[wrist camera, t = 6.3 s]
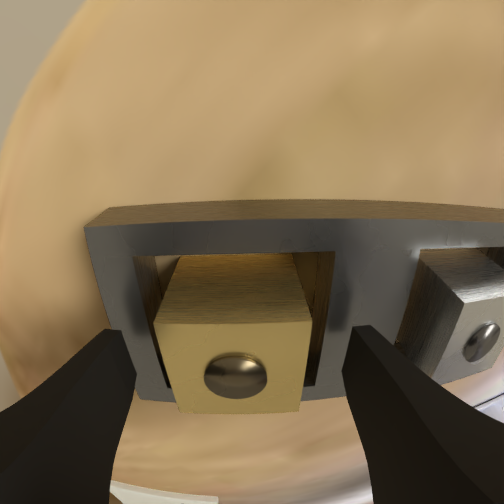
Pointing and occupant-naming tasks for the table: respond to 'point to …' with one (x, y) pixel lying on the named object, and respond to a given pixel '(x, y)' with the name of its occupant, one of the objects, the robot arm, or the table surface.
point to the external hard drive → (155, 495)
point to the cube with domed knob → (454, 314)
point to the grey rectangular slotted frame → (278, 241)
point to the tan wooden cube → (235, 334)
